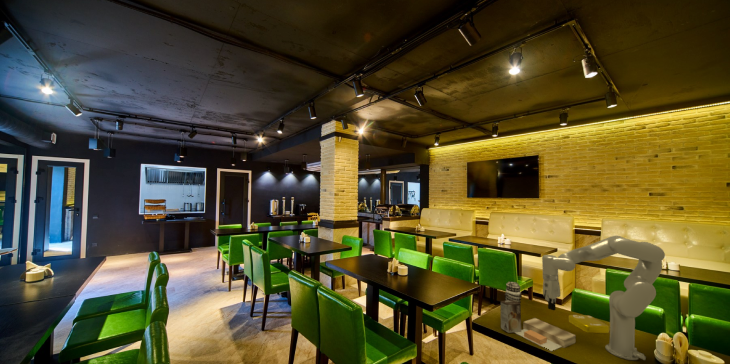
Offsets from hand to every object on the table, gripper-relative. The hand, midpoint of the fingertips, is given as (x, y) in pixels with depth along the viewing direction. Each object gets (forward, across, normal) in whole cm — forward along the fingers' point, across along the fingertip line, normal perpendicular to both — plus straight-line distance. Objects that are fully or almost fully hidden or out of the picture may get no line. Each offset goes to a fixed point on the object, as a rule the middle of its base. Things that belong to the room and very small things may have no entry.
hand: (551, 309), depth 159 cm
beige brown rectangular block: (+15, -2, +2) cm, 15 cm away
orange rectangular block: (+12, -14, +2) cm, 18 cm away
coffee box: (+14, -16, +15) cm, 26 cm away
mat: (+15, -12, +2) cm, 19 cm away
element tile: (+17, +33, -4) cm, 38 cm away
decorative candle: (+14, -7, +20) cm, 25 cm away
